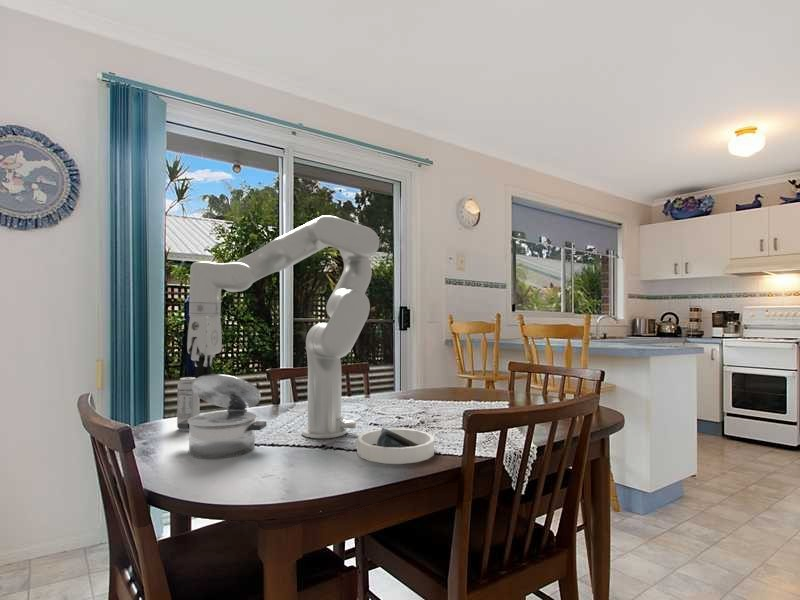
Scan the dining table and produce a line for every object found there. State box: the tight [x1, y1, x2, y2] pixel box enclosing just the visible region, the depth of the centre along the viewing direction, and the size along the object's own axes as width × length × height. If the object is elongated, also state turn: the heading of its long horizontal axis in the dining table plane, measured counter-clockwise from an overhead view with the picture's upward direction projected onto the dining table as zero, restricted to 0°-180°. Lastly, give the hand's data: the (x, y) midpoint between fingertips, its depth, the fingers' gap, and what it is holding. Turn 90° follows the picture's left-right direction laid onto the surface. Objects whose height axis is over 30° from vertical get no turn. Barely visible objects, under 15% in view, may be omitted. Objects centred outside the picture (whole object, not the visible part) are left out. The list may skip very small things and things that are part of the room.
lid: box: [192, 373, 261, 412], centre depth 129 cm, size 17×18×4 cm
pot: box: [177, 410, 267, 460], centre depth 127 cm, size 21×18×8 cm
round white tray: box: [356, 427, 435, 465], centre depth 124 cm, size 19×19×4 cm
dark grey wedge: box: [375, 427, 419, 448], centre depth 121 cm, size 10×7×12 cm
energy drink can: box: [176, 376, 201, 432], centre depth 147 cm, size 6×6×15 cm
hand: (202, 381), depth 127 cm, fingers closed
